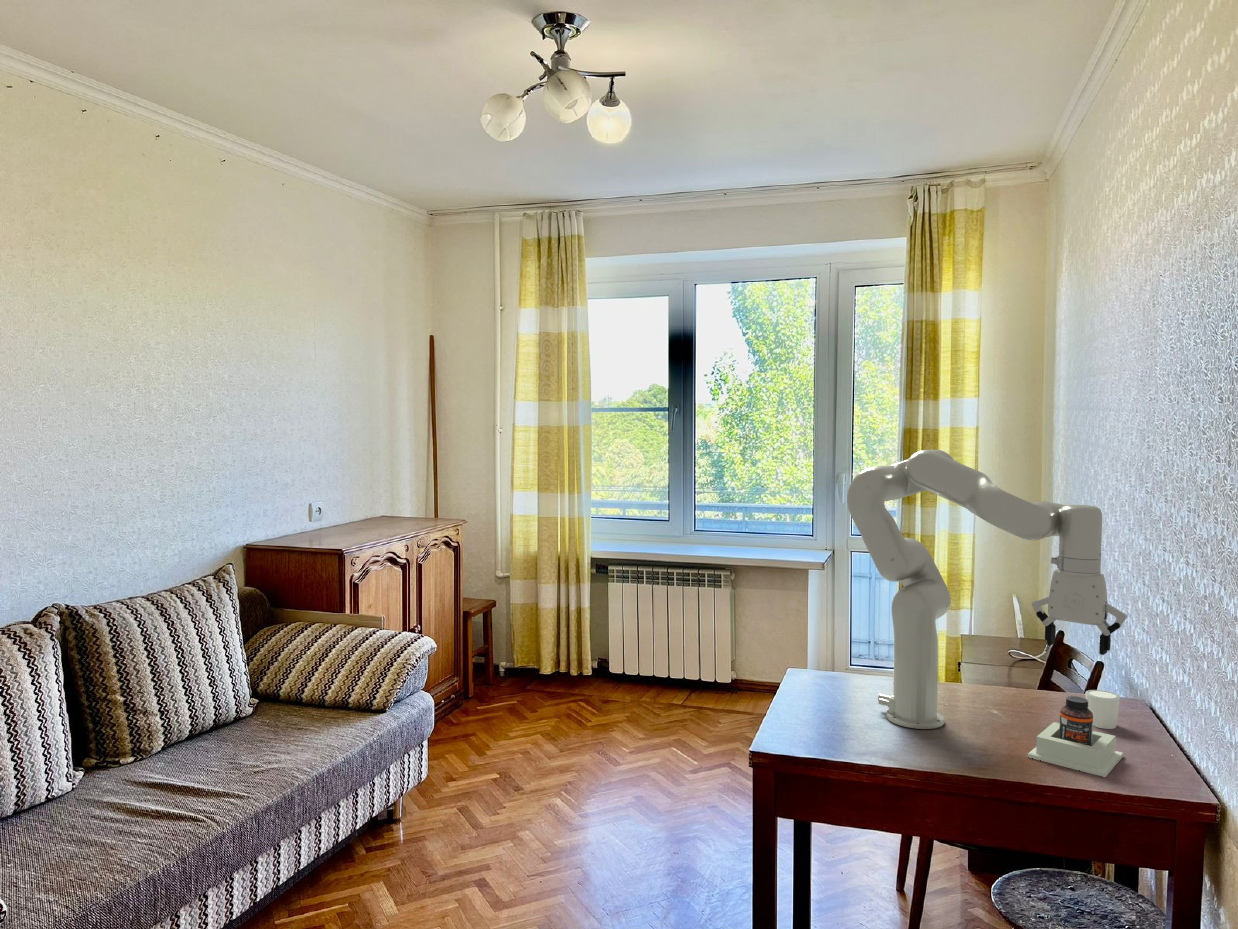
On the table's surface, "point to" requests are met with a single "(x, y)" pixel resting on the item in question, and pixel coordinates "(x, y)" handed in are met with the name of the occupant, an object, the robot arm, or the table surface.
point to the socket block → (1077, 752)
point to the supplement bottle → (1076, 721)
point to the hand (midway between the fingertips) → (1076, 649)
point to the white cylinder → (1103, 708)
